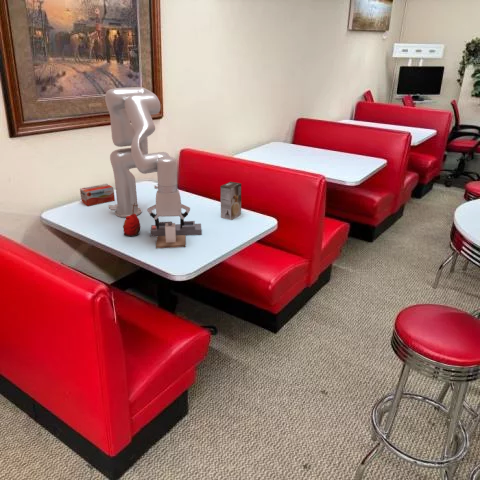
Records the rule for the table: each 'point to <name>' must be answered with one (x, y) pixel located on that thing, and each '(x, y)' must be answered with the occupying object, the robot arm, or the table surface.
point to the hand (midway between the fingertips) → (169, 227)
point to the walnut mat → (179, 242)
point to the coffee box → (230, 200)
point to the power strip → (177, 229)
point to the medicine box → (97, 194)
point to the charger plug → (170, 232)
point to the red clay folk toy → (131, 224)
